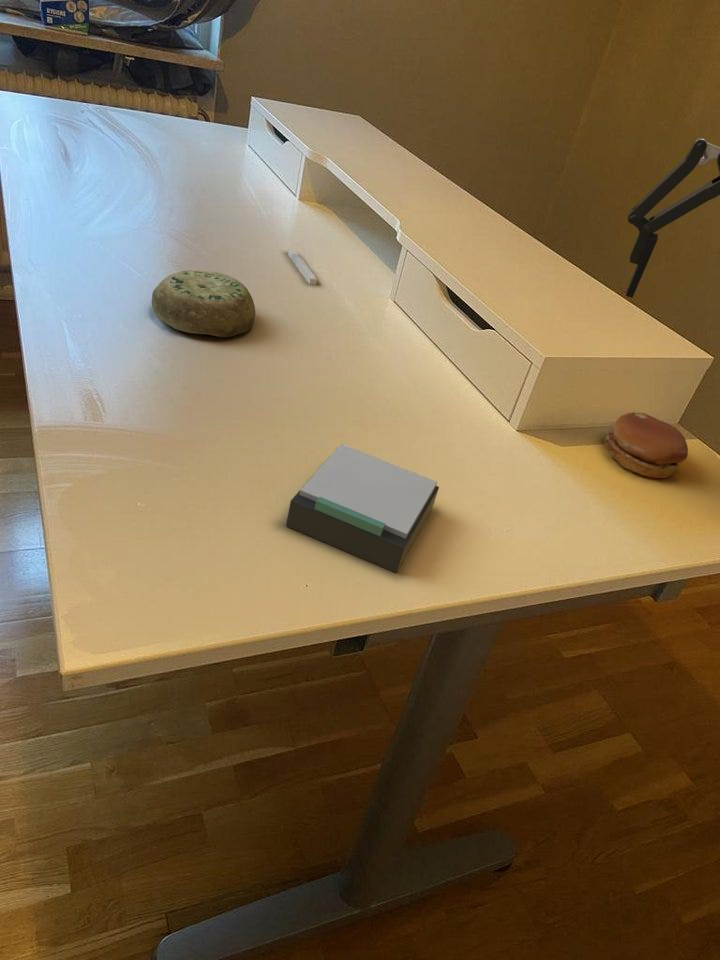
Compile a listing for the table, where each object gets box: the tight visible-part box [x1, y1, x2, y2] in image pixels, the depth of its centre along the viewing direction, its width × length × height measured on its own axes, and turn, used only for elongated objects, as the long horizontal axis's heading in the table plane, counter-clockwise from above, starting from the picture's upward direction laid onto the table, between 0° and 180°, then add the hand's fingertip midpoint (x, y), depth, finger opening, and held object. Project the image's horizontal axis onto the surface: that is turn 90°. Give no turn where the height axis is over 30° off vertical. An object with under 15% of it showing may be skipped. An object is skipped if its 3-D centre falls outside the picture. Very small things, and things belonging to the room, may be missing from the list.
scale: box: [285, 443, 440, 574], centre depth 70 cm, size 11×11×4 cm
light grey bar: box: [287, 249, 318, 286], centre depth 122 cm, size 12×1×1 cm, turn 20°
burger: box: [604, 411, 689, 479], centre depth 91 cm, size 10×9×5 cm
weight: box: [151, 269, 256, 338], centre depth 98 cm, size 14×13×5 cm
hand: (690, 313), depth 81 cm, fingers open, 13 cm apart
